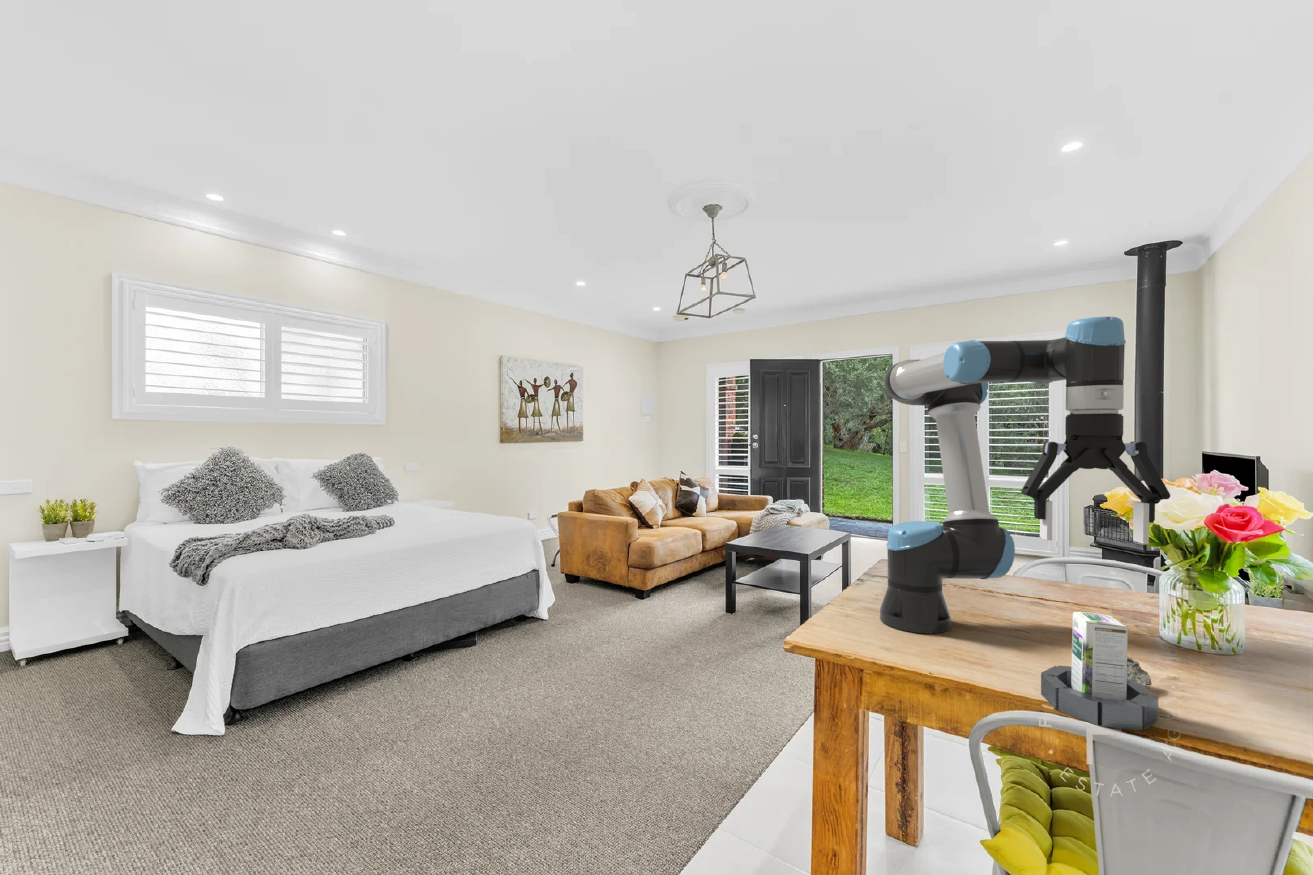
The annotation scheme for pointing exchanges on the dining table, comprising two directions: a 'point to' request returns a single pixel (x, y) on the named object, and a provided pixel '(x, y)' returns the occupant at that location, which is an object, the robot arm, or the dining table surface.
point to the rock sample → (1137, 673)
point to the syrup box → (1099, 656)
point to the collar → (1100, 702)
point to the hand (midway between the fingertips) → (1092, 540)
